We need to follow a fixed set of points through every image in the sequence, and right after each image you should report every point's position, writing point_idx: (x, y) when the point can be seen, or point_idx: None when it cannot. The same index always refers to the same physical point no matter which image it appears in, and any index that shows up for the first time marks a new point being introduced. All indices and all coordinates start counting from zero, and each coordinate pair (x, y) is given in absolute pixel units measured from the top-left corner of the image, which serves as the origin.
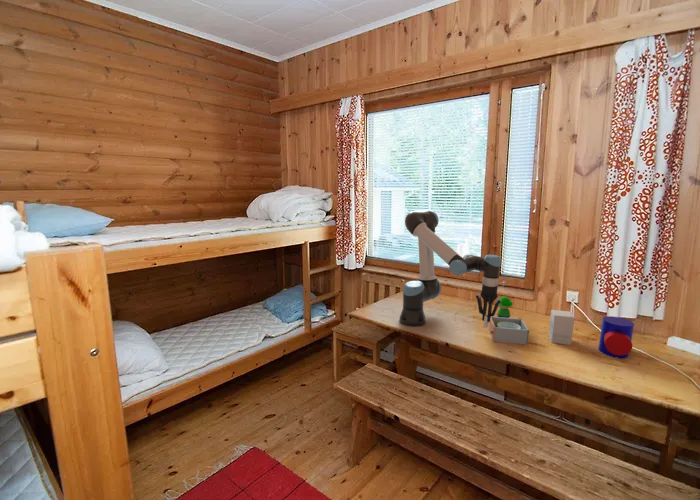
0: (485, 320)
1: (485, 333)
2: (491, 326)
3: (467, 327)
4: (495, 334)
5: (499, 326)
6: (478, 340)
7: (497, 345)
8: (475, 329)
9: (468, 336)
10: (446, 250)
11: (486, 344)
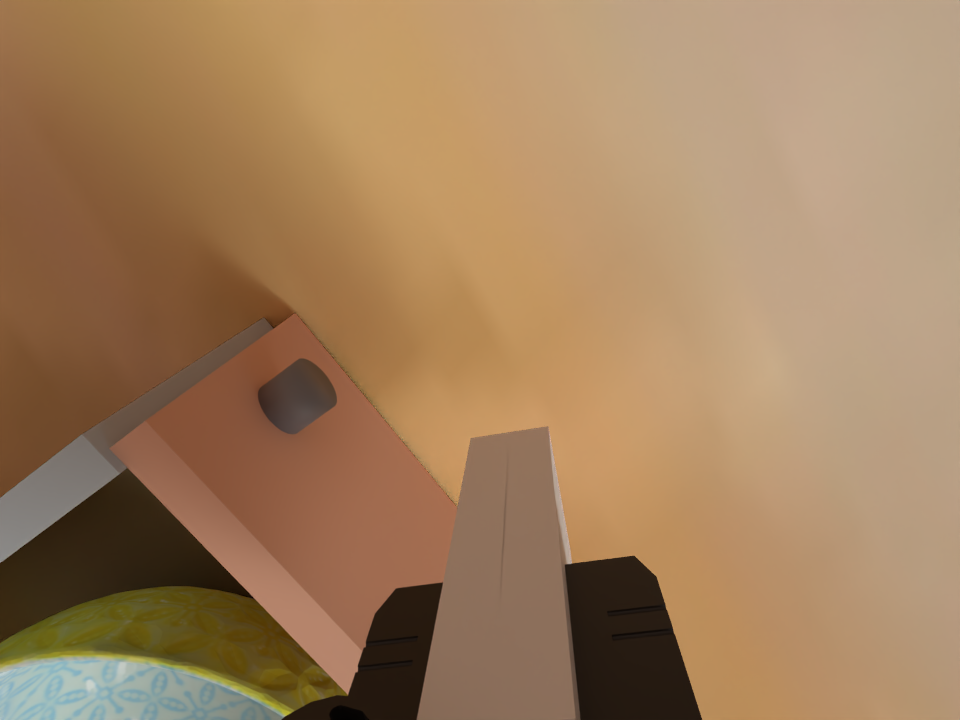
0: (498, 567)
1: None
2: None
3: (948, 501)
4: (190, 364)
5: (234, 689)
6: (489, 95)
7: (118, 184)
8: (782, 527)
9: (746, 111)
10: None
11: (271, 43)
